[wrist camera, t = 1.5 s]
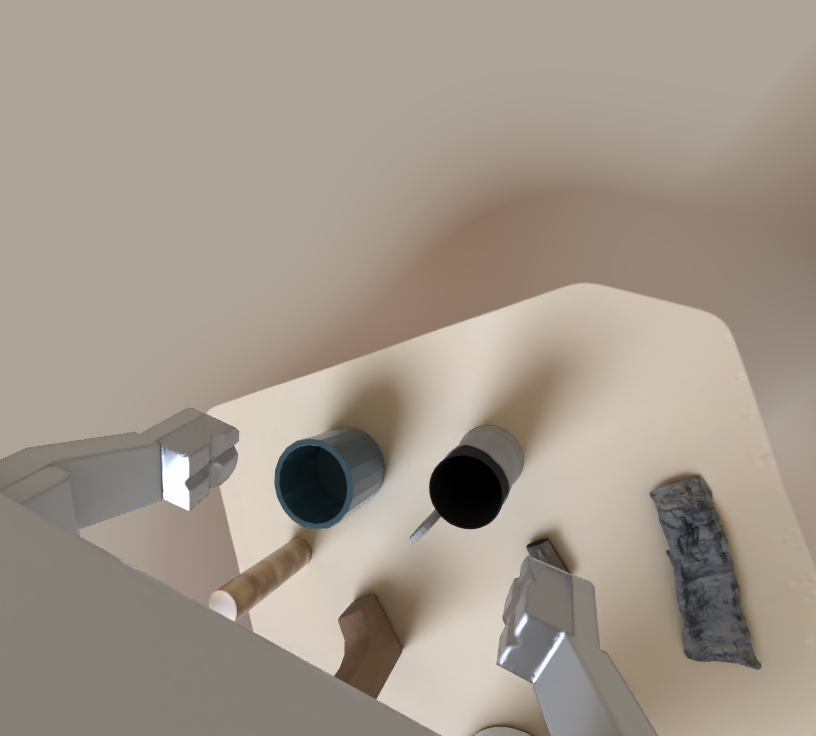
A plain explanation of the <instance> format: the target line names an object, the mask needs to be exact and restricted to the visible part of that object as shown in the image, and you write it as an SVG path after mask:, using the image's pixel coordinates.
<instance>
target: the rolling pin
mask: <svg viewBox="0 0 816 736" xmlns="http://www.w3.org/2000/svg"><path fill="white" fill-rule="evenodd" d="M310 558H311V550H310V547H309V546H308V544H307V543H306V542H305V541H304V540H302V539H299V538H295V539H293V540H291V541H290V542H288V543H287V544H285V545H284V546H282V547H281V548H279V549H278V550H276V551H275V552H273V553H272V554H270V555H269V556H267V557H266V558H264V559H263V560H261V561H260V562H258V563H257V564H255V565H254V566H252V567H251V568H249V569H248V570H246V571H245V572H243V573H242V574H240V575H239V576H237V577H236V578H234V579H233V580H231V581H230V582H228V583H227V584H225V585H224V586H222V587H221V588H219V589H218V590H216V591H215V592H213V593H212V595H211V597H210V600H209V608H210V609H212V610H214V611H216V612H218V613H219V614H221V615H223V616H225V617H227V618H229V619H230V620H232V621H234V622H235V621H237V620H238V619H239V618H240V617H241V616H242V615H244V614H245V613H247V612H248V611H249V610H250V609H252V608H253V607H254V606H255V605H257V604H258V603H259V602H260V601H262V600H263V599H264V598H265V597H267V596H268V595H269V594H270V593H272V592H273V591H274V590H275V589H277V588H278V587H279V586H280V585H282V584H283V583H284V582H285V581H286V580H288V579H289V578H290V577H291V576H293V575H294V574H295V573H296V572H298V571H299V570H300V569H301V568H303V567H304V566H305V565H306V564H308V562H309V561H310Z"/></svg>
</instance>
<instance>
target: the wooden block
mask: <svg viewBox="0 0 816 736" xmlns="http://www.w3.org/2000/svg"><path fill="white" fill-rule="evenodd" d="M338 622H339V625H340V628H341V631H342V633H343V636H344V639H345V655H344V658H343V661H342V663H341V666H340V669H339V670H338V671H337V673H336V674H335V676H334V677H336V678H338V679H340V680H341V681H343V682H345V683H347V684H349V685H350V686H352V687H354V688H356V689H358V690H360V691H361V692H363V693H365V694H367V695H369V696H370V697H372V698H374V699H377V697H378V695H379V693H380V691H381V690H382V688H383V686H384V684H385V682H386V681H387V679H388V677H389V675H390V673H391V671H392V670H393V668H394V666H395V664H396V662H397V660H398V659H399V657H400V655H401V653H402V648H401V646H400V644H399V642H398V640H397V638H396V636H395V634H394V632H393V630H392V628H391V626H390V624H389V622H388V620H387V618H386V616H385V614H384V612H383V610H382V608H381V606H380V604H379V602H378V600H377V598H376V596H375V595H374V594H370V595H368V596H366V597H364V598H361V599H359V600H357V601H355V602H353V603H351V605H350V606H349V607H348V608H347V609H346V610H345V611H344V613H343V614H342V615H341V616H340V617H339V619H338Z"/></svg>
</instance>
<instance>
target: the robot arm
mask: <svg viewBox="0 0 816 736" xmlns="http://www.w3.org/2000/svg"><path fill="white" fill-rule="evenodd" d="M238 441H239V431H238V430H237V429H236V428H235V427H233V426H231V425H228V424H226V423H224V422H222V421H220V420H218V419H216V418H213V417H211V416H209V415H206V414H204V413H202V412H200V411H198V410H195V409H193V408H187V409H185V410H183V411H181V412H179V413H178V414H176V415H174V416H172V417H170V418H168V419H166V420H164V421H163V422H161V423H159V424H157V425H155V426H154V427H152V428H150V429H148V430H146V431H144V432H142V433H141V434H138V433H136V432H132V433H125V434H118V435H112V436H104V437H98V438H91V439H84V440H77V441H70V442H64V443H57V444H50V445H44V446H37V447H30V448H25V449H23V450H21V451H19V452H16V453H14V454H12V455H10V456H8V457H5V458H3V459H1V460H0V736H441V735H440V734H438V733H436V732H434V731H432V730H431V729H429V728H427V727H425V726H423V725H421V724H420V723H418V722H416V721H414V720H412V719H410V718H409V717H407V716H405V715H403V714H401V713H400V712H398V711H396V710H394V709H392V708H390V707H389V706H387V705H385V704H383V703H381V702H380V701H378V700H376V699H374V698H372V697H370V696H369V695H367V694H365V693H363V692H361V691H360V690H358V689H356V688H354V687H352V686H350V685H349V684H347V683H345V682H343V681H341V680H340V679H338V678H336V677H334V676H332V675H330V674H329V673H327V672H325V671H323V670H321V669H320V668H318V667H316V666H314V665H312V664H310V663H309V662H307V661H305V660H303V659H301V658H299V657H298V656H296V655H294V654H292V653H290V652H289V651H287V650H285V649H283V648H281V647H279V646H278V645H276V644H274V643H272V642H270V641H269V640H267V639H265V638H263V637H261V636H259V635H258V634H256V633H254V632H252V631H250V630H248V629H246V628H245V627H243V626H241V625H239V624H238V623H236V622H234V621H232V620H230V619H229V618H227V617H225V616H223V615H221V614H219V613H218V612H216V611H214V610H212V609H210V608H209V607H207V606H205V605H203V604H201V603H199V602H198V601H196V600H194V599H192V598H190V597H188V596H187V595H185V594H183V593H181V592H180V591H178V590H176V589H174V588H172V587H170V586H168V585H167V584H165V583H163V582H161V581H160V580H158V579H156V578H154V577H152V576H151V575H148V574H147V573H145V572H143V571H141V570H140V569H138V568H136V567H134V566H132V565H130V564H129V563H126V562H125V561H123V560H121V559H120V558H118V557H116V556H114V555H112V554H111V553H109V552H107V551H105V550H103V549H101V548H100V547H97V546H96V545H94V544H92V543H90V542H89V541H87V540H85V539H83V538H81V537H80V532H79V529H81V528H84V527H87V526H90V525H93V524H96V523H99V522H101V521H104V520H107V519H110V518H113V517H116V516H119V515H121V514H124V513H127V512H130V511H133V510H136V509H139V508H141V507H144V506H147V505H150V504H153V503H156V502H159V501H161V500H162V499H164V500H166V501H169V502H171V503H173V504H175V505H177V506H179V507H182V508H184V509H186V510H188V511H190V510H191V509H192V508H194V507H195V506H196V505H197V504H198V503H200V502H201V501H202V500H203V499H204V498H206V497H207V496H208V495H209V490H210V488H211V487H215V486H219V485H221V484H223V483H224V482H225V481H226V480H227V479H228V478H229V477H230V475H231V474H232V472H233V471H234V469H235V467H236V464H237V460H238V453H237V451H236V449H235V447H234V445H235V444H236V443H237V442H238ZM503 621H504V623H505V625H506V626H505V628H504V630H503V632H502V634H501V636H500V641H499V648H498V656H497V665H499V666H500V667H502V668H504V669H506V670H508V671H510V672H512V673H514V674H515V675H517V676H519V677H521V678H523V679H525V680H527V681H529V682H531V683H532V684H534V685H533V688H534V691H535V693H536V696H537V699H538V702H539V705H540V708H541V710H542V713H543V716H544V719H545V722H546V725H547V727H548V730H549V733H550V736H658V735H657V733H656V731H655V730H654V728H653V726H652V725H651V723H650V722H649V720H648V718H647V717H646V715H645V713H644V712H643V710H642V708H641V707H640V705H639V704H638V702H637V700H636V699H635V697H634V695H633V694H632V692H631V691H630V689H629V687H628V686H627V684H626V682H625V681H624V679H623V678H622V676H621V674H620V673H619V671H618V669H617V668H616V666H615V665H614V663H613V661H612V660H611V658H610V656H609V655H608V653H607V652H605V651H603V650H601V649H600V643H599V632H598V622H597V611H596V600H595V590H594V585H593V584H592V582H590V581H587V580H585V579H582V578H580V577H578V576H575V575H573V574H571V573H570V574H569V573H568V572H565V571H563V570H561V569H558V568H556V567H554V566H551V565H549V564H547V563H544V562H542V561H540V560H537V559H535V558H533V557H530V556H527V557H526V558H525V559H524V561H523V563H522V565H521V569H520V577H518V578H515V579H514V581H513V583H512V585H511V587H510V590H509V593H508V596H507V599H506V603H505V607H504V613H503ZM474 736H531V735H529V734H527V733H525V732H522V731H520V730H517V729H513V728H508V727H491V728H487V729H484V730H482V731H480V732H478V733H477V734H475V735H474Z"/></svg>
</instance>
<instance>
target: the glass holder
mask: <svg viewBox="0 0 816 736" xmlns="http://www.w3.org/2000/svg"><path fill="white" fill-rule="evenodd" d="M522 468H523V454H522V450H521V448H520V445H519V444H518V442H517V441H516V439H515V438H514V437H513V436H512V435H511V434H510V433H508V432H507V431H505V430H503V429H501V428H498V427H495V426H481V427H477V428H475V429H473V430H471V431H470V432H468V433H467V434H466V435H465V436H464V437H463V439H462V440H461V442H460V444H459V445H458V446H457V447H456V448H454V449H453V450H452V451H451V452H450V453H448V455H447V456H446V457H445V459H444V460H443V461H441V462H440V463H439V464H438V465H437V466H436V468H435V469H434V471H433V473H432V475H431V478H430V484H429V492H430V497H431V501H432V503H433V505H434V507H435V510H434V511H433V512H432V513H431V514H430V516H429V517H428V518H427V519H426V520H425V521H424V522H423V523H422V524H421V525H420V526H419V527H418V528H417V530H416V531H415V532H414V533H413V534H412V535H411V537H410V540H411V541H412V542H413V543H415V542H416V541H418V540H419V539H420V538H421V537H422V536H423V535H424V534H425V533H426V532H427V531H428V530H429V529H430V528H431V527H432V526H433V525H434V524H435V523H436V522H437V520H438V519H439V518H440V517H442V518H443V519H444V520H446V521H447V522H449V523H450V524H452V525H454V526H456V527H459V528H463V529H477V528H481V527H483V526H486V525H488V524H489V523H490V522H492V521H493V520H494V519H495V518H496V516H497V515H498V513H499V512H500V510H501V507H502V505H503V504H504V502H505V501H506V499H507V497H508V494H509V492H510V489H511V487H512V484H514V483H515V482H516V480H517V479H518V478H519V476H520V474H521V471H522Z"/></svg>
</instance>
